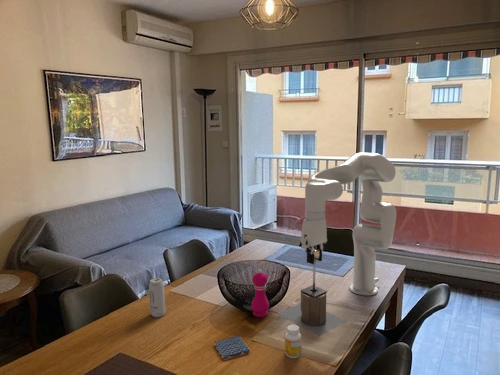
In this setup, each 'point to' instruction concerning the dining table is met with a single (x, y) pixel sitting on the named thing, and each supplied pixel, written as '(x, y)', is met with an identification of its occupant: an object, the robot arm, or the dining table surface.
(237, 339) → the woven mat
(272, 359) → the dining table surface
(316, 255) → the plunger
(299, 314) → the slate board
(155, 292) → the energy drink can
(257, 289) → the pepper mill
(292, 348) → the supplement bottle
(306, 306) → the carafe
